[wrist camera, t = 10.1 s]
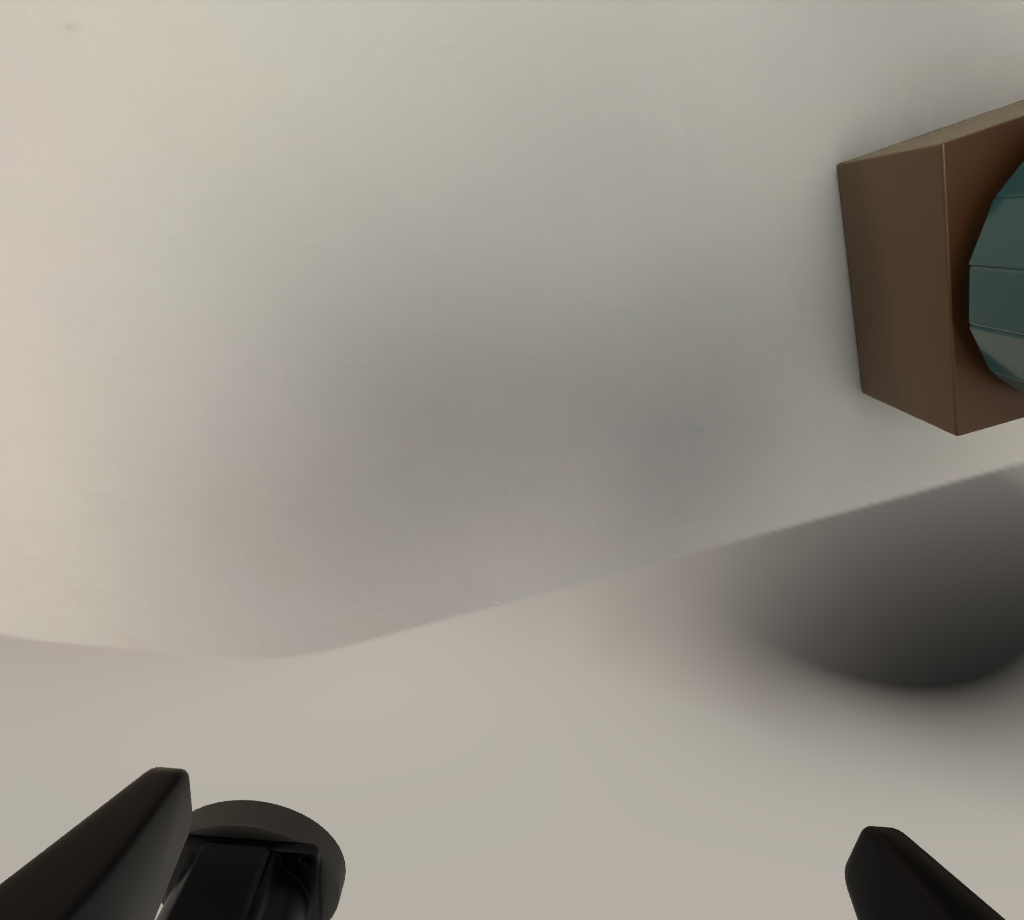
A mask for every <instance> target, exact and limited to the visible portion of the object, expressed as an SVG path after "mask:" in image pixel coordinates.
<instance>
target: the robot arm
mask: <svg viewBox="0 0 1024 920" xmlns="http://www.w3.org/2000/svg"><path fill="white" fill-rule="evenodd" d="M191 822H192V805H191V793H190V783H189V776H188V773H187V772H186V771H185V770H183V769H175V768H164V767H156V768H153V769H150V770H149V771H147V772H145V773H144V774H143V775H141V776H140V777H139V778H138V779H136V780H135V781H134V782H132V783H131V784H130V785H128V787H126V788H125V789H123V790H122V791H121V792H120V793H118V794H117V795H116V796H114V797H113V798H112V799H111V800H109V801H108V802H106V803H105V804H104V805H103V806H101V807H100V808H99V809H98V810H96V811H95V812H93V813H92V814H91V815H90V816H89V817H87V818H86V819H84V820H83V821H82V822H81V823H79V824H78V825H77V826H75V827H74V828H73V829H71V830H70V831H69V832H68V833H67V834H65V835H64V836H62V837H61V838H60V839H59V840H57V841H56V842H55V843H53V844H52V845H51V846H49V847H48V848H47V849H46V850H44V851H43V852H42V853H40V854H39V855H38V856H36V857H35V858H34V859H33V860H31V861H30V862H29V863H27V864H26V865H25V866H23V867H22V868H21V869H20V870H18V871H17V872H16V873H15V874H13V875H12V876H11V877H9V878H8V879H7V880H5V881H4V882H3V883H1V884H0V920H154V919H155V917H156V914H157V911H158V909H159V907H160V904H161V902H162V899H163V897H164V894H166V902H165V904H164V906H163V907H162V910H161V911H160V913H159V915H158V917H157V919H156V920H321V851H320V849H319V848H318V847H317V846H316V845H314V844H309V843H297V842H284V841H271V840H258V839H245V838H232V837H219V836H206V835H193V834H189V830H190V827H191ZM845 880H846V885H847V889H848V892H849V895H850V898H851V901H852V904H853V907H854V910H855V912H856V916H857V919H858V920H1005V919H1004V918H1003V917H1001V916H1000V915H999V914H998V913H997V912H996V911H995V910H993V909H992V908H991V907H990V906H989V905H987V904H986V903H985V902H984V901H983V900H982V899H980V898H979V897H978V896H977V895H976V894H974V893H973V892H972V891H971V890H970V889H969V888H968V887H966V886H965V885H964V884H963V883H962V882H961V881H959V880H958V879H957V878H956V877H954V876H953V875H952V874H951V873H950V872H949V871H948V870H946V869H945V868H944V867H943V866H942V865H941V864H939V863H938V862H937V861H936V860H935V859H934V858H932V857H931V856H930V855H929V854H928V853H926V852H925V851H924V850H923V849H922V848H920V847H919V846H918V845H917V844H916V843H915V842H914V841H912V840H911V839H910V838H909V837H907V836H906V835H905V834H904V833H903V832H901V831H899V830H897V829H894V828H888V827H875V826H868V827H866V828H865V829H863V830H862V832H861V834H860V836H859V838H858V840H857V842H856V844H855V846H854V848H853V850H852V853H851V855H850V857H849V859H848V861H847V863H846V866H845Z"/></svg>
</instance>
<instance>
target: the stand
mask: <svg viewBox="0 0 1024 920" xmlns="http://www.w3.org/2000/svg"><path fill="white" fill-rule="evenodd" d="M1023 160H1024V100H1022V101H1019V102H1016V103H1013V104H1010V105H1007V106H1004V107H1001V108H999V109H996V110H993V111H990V112H987V113H984V114H981V115H978V116H975V117H973V118H970V119H967V120H964V121H961V122H958V123H955V124H952V125H949V126H947V127H944V128H941V129H938V130H935V131H932V132H929V133H926V134H924V135H921V136H918V137H915V138H912V139H909V140H906V141H903V142H900V143H898V144H895V145H892V146H889V147H886V148H883V149H880V150H877V151H874V152H872V153H869V154H866V155H863V156H860V157H857V158H854V159H851V160H848V161H846V162H843V163H840V164H838V175H839V184H840V193H841V202H842V211H843V220H844V229H845V238H846V246H847V255H848V264H849V273H850V282H851V291H852V300H853V309H854V318H855V327H856V335H857V344H858V353H859V362H860V371H861V380H862V389H863V393H864V394H867V395H869V396H871V397H873V398H875V399H877V400H880V401H882V402H884V403H886V404H888V405H890V406H892V407H895V408H897V409H899V410H901V411H903V412H905V413H908V414H910V415H912V416H914V417H916V418H918V419H921V420H923V421H925V422H927V423H929V424H931V425H934V426H936V427H938V428H940V429H942V430H944V431H946V432H949V433H951V434H953V435H955V436H960V435H963V434H967V433H970V432H974V431H977V430H981V429H984V428H988V427H991V426H995V425H998V424H1002V423H1005V422H1009V421H1012V420H1016V419H1019V418H1023V417H1024V394H1023V393H1021V392H1020V391H1018V390H1017V389H1015V388H1014V387H1012V386H1011V385H1009V384H1008V383H1006V382H1005V381H1003V380H1002V379H1000V378H999V377H997V376H996V375H995V374H994V373H993V372H992V371H990V369H989V367H988V365H987V363H986V361H985V359H984V357H983V355H982V353H981V351H980V349H979V347H978V345H977V343H976V341H975V339H974V337H973V335H972V333H971V331H970V329H969V326H970V325H971V324H970V323H969V268H970V267H971V265H969V261H970V258H971V256H972V253H973V251H974V248H975V245H976V243H977V240H978V238H979V235H980V233H981V230H982V227H983V225H984V222H985V220H986V217H987V214H988V212H989V209H990V207H991V204H992V201H993V200H994V199H995V198H996V195H997V193H998V192H999V191H1000V190H1001V188H1002V187H1003V186H1004V184H1005V183H1006V182H1007V181H1008V179H1009V178H1010V177H1011V176H1012V174H1013V173H1014V172H1015V171H1016V169H1017V168H1018V167H1019V165H1020V164H1021V163H1022V162H1023Z"/></svg>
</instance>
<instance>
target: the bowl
mask: <svg viewBox="0 0 1024 920" xmlns="http://www.w3.org/2000/svg"><path fill="white" fill-rule="evenodd" d="M969 265H971V267H970V268H969V323H970V324H971V325H970V326H969V329H970V331H971V333H972V335H973V337H974V339H975V341H976V343H977V345H978V347H979V349H980V351H981V353H982V355H983V357H984V359H985V361H986V363H987V365H988V367H989V369H990V371H992V372H993V373H994V374H995V375H996V376H997V377H999V378H1000V379H1002V380H1003V381H1005V382H1006V383H1008V384H1009V385H1011V386H1012V387H1014V388H1015V389H1017V390H1018V391H1020V392H1021V393H1023V394H1024V160H1023V162H1022V163H1021V164H1020V165H1019V167H1018V168H1017V169H1016V171H1015V172H1014V173H1013V174H1012V176H1011V177H1010V178H1009V179H1008V181H1007V182H1006V183H1005V184H1004V186H1003V187H1002V188H1001V190H1000V191H999V192H998V193H997V195H996V198H995V199H994V200H993V201H992V204H991V207H990V209H989V212H988V214H987V217H986V220H985V222H984V225H983V227H982V230H981V233H980V235H979V238H978V240H977V243H976V245H975V248H974V251H973V253H972V256H971V258H970V261H969Z"/></svg>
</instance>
